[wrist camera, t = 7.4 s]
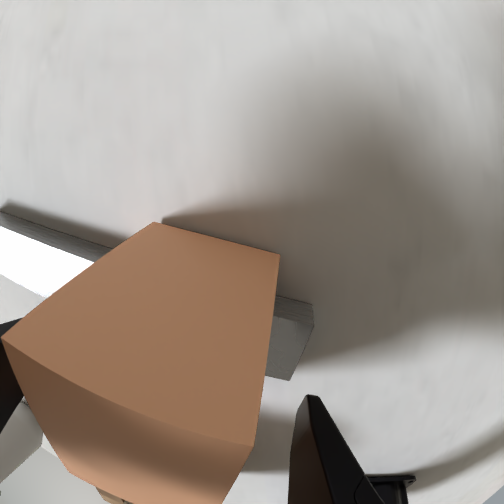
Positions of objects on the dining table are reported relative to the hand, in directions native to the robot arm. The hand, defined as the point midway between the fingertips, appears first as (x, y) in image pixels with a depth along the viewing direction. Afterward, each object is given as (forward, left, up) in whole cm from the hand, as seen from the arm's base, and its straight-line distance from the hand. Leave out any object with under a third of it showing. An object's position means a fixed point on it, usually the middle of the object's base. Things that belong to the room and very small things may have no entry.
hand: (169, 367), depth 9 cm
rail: (+5, 0, -4) cm, 6 cm away
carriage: (0, 0, -4) cm, 4 cm away
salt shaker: (+18, +22, -4) cm, 29 cm away
